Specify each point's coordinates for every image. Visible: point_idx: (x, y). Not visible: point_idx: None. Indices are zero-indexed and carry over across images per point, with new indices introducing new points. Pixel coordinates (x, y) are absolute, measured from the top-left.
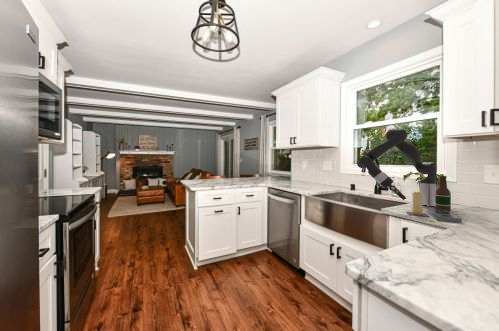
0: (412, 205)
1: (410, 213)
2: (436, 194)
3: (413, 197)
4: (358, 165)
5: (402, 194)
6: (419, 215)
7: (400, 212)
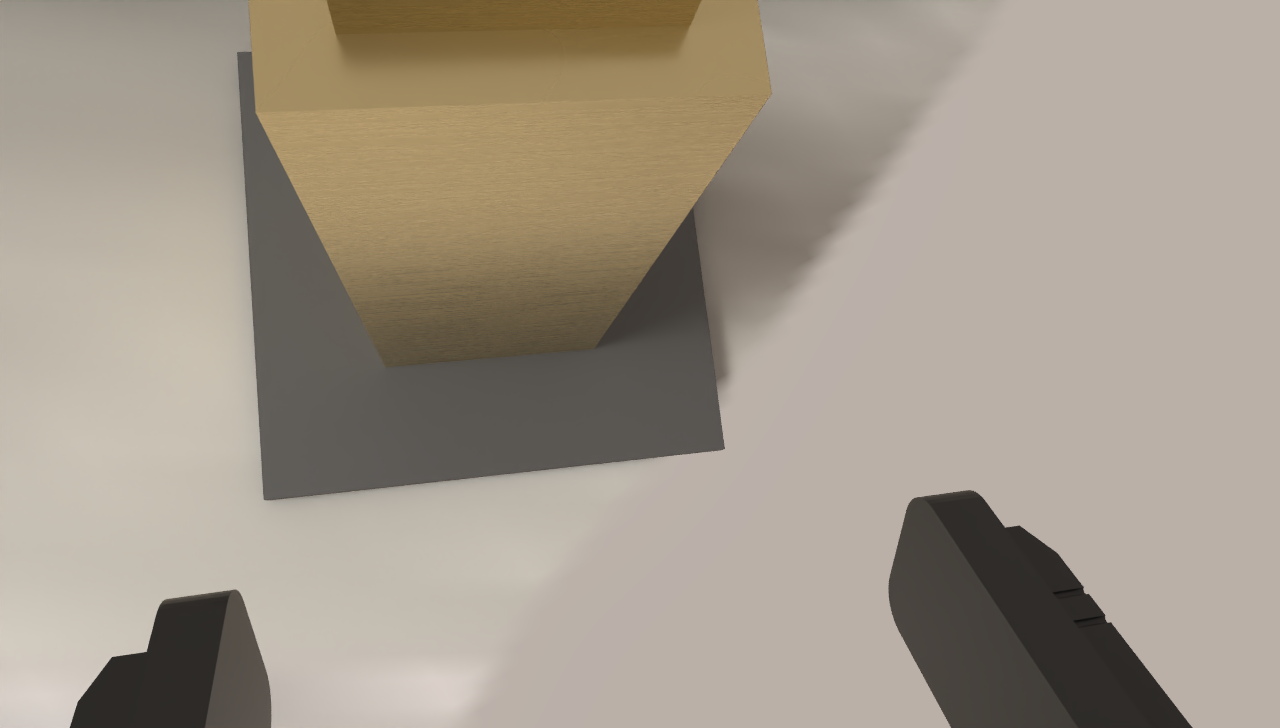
0: (503, 305)
1: (544, 403)
2: None
3: (700, 177)
4: None
5: (1111, 675)
6: (692, 226)
7: (436, 644)
